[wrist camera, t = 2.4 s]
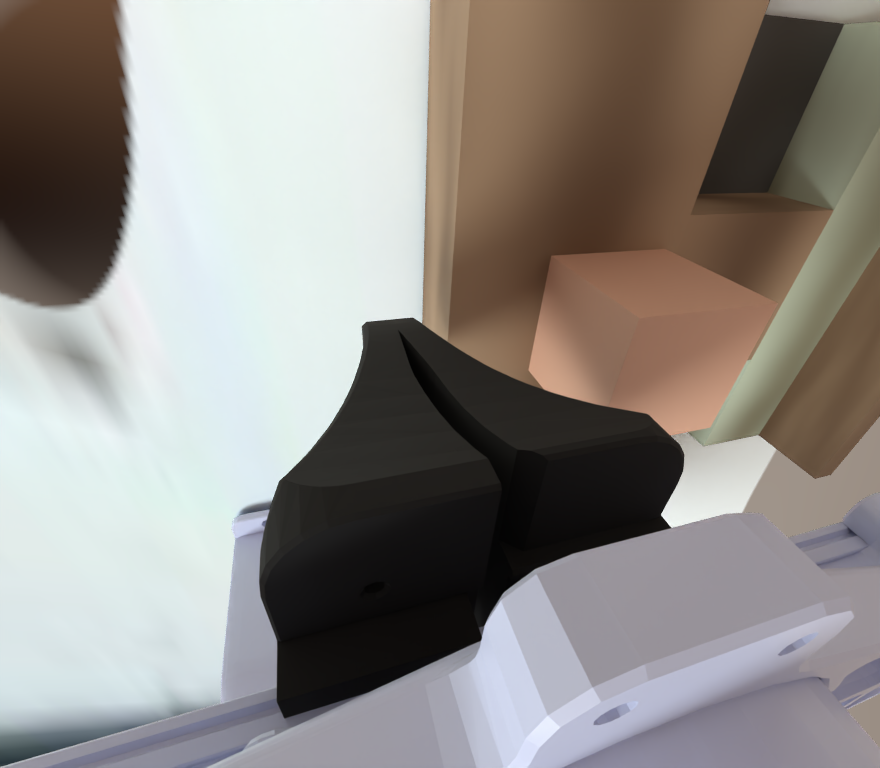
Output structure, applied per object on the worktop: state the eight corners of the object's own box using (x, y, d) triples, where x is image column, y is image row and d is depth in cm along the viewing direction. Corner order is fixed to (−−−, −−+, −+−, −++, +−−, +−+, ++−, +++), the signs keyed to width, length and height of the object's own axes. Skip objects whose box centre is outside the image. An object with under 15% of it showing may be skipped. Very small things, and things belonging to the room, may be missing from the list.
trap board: (419, 450, 20) (460, 567, 15) (431, -22, 11) (547, -89, 6) (727, 397, 24) (830, 474, 20) (924, 35, 15) (1207, 22, 11)
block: (528, 370, 15) (593, 450, 12) (551, 255, 12) (639, 317, 9) (626, 357, 16) (710, 427, 13) (665, 248, 14) (778, 303, 10)
